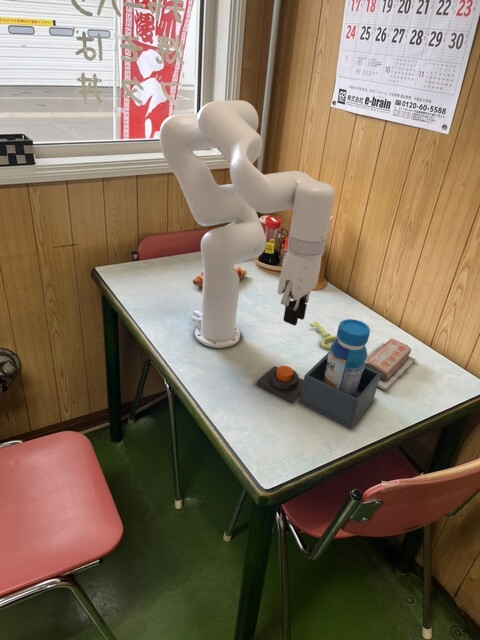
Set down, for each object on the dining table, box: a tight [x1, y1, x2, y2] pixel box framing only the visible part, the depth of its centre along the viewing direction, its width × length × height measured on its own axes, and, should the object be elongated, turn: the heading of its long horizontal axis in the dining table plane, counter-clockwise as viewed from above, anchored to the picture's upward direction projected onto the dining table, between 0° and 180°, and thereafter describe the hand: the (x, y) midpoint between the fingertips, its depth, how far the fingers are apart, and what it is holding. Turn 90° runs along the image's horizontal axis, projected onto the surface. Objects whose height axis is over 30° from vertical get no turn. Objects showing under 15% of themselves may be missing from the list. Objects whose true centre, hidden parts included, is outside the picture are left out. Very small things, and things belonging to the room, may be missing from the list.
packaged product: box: [365, 338, 416, 392], centre depth 126 cm, size 18×5×10 cm
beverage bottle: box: [323, 318, 371, 398], centre depth 109 cm, size 8×8×20 cm
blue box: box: [299, 351, 381, 429], centre depth 112 cm, size 13×13×8 cm
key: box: [309, 321, 337, 351], centre depth 136 cm, size 7×12×2 cm, turn 43°
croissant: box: [192, 266, 248, 288], centre depth 160 cm, size 21×10×8 cm, turn 126°
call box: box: [256, 365, 304, 404], centre depth 117 cm, size 10×8×3 cm
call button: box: [276, 365, 294, 382], centre depth 115 cm, size 4×4×2 cm
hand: (293, 319), depth 107 cm, fingers closed
